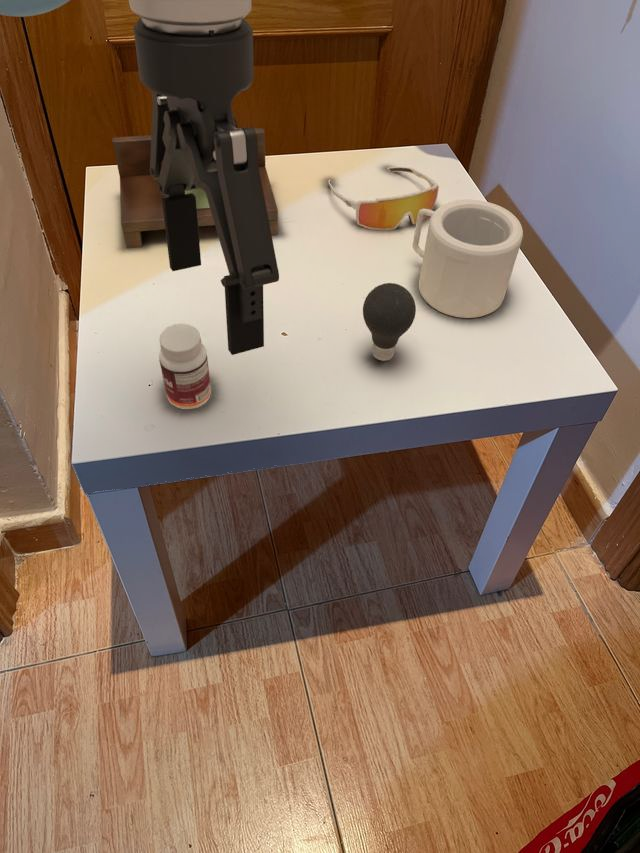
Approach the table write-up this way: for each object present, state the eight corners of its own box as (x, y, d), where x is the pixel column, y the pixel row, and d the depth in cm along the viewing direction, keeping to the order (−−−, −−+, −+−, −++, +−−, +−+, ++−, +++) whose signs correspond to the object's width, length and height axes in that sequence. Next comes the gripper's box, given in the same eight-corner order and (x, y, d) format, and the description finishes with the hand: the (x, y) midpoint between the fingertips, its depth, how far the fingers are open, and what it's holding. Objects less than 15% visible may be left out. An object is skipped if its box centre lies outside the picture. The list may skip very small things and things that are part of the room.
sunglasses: (360, 241, 92) (361, 206, 89) (316, 198, 102) (315, 164, 99) (451, 220, 96) (455, 185, 93) (399, 180, 106) (401, 147, 103)
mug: (520, 292, 87) (542, 224, 79) (470, 333, 82) (489, 264, 74) (435, 246, 92) (448, 177, 85) (383, 281, 87) (392, 212, 80)
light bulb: (395, 337, 81) (407, 267, 73) (414, 370, 77) (428, 301, 70) (350, 346, 79) (357, 276, 72) (367, 380, 76) (376, 311, 68)
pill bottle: (163, 383, 75) (151, 325, 68) (206, 374, 76) (199, 316, 69) (170, 415, 72) (159, 357, 65) (215, 405, 73) (208, 348, 66)
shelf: (126, 249, 90) (113, 186, 83) (124, 198, 97) (112, 137, 90) (278, 236, 93) (277, 174, 86) (265, 187, 100) (263, 127, 93)
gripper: (341, 68, 37) (322, 376, 51) (181, -25, 53) (202, 231, 67) (210, 83, 34) (229, 405, 49) (83, -20, 50) (126, 246, 64)
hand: (213, 304), depth 58 cm, fingers open, 13 cm apart
